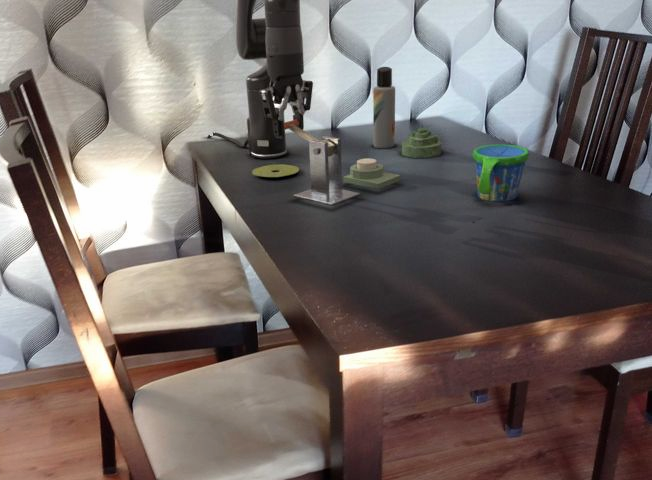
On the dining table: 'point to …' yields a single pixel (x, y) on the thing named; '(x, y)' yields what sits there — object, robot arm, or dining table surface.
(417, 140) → the decorative artifact
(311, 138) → the lever
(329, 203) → the bracket
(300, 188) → the dining table surface
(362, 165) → the button
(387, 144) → the lotion bottle
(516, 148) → the snack cup
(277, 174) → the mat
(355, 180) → the control block
